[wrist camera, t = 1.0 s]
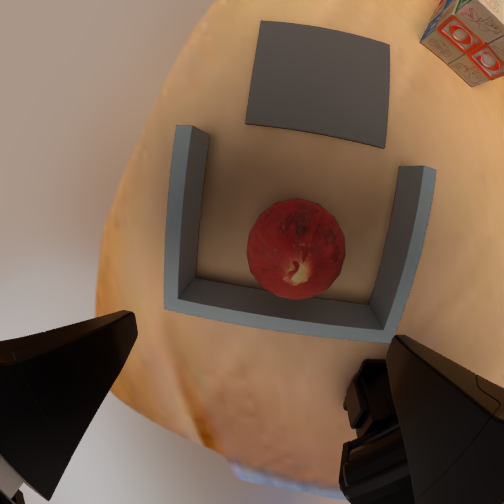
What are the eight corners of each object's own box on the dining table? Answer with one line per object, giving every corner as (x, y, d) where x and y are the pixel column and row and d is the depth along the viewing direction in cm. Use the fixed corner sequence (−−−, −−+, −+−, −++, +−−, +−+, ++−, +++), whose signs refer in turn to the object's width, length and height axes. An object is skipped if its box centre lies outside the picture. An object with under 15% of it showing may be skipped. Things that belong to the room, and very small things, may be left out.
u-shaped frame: (410, 169, 17) (436, 169, 13) (376, 317, 21) (390, 343, 17) (196, 133, 18) (176, 124, 15) (183, 287, 22) (164, 309, 18)
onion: (262, 188, 19) (247, 195, 11) (341, 205, 19) (377, 224, 11) (247, 265, 21) (226, 317, 13) (322, 281, 20) (341, 338, 13)
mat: (387, 46, 15) (389, 44, 14) (382, 148, 17) (385, 148, 17) (261, 23, 15) (261, 20, 15) (245, 124, 18) (245, 123, 18)
